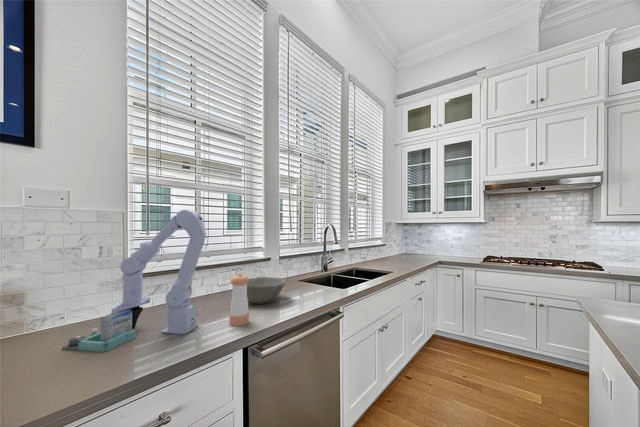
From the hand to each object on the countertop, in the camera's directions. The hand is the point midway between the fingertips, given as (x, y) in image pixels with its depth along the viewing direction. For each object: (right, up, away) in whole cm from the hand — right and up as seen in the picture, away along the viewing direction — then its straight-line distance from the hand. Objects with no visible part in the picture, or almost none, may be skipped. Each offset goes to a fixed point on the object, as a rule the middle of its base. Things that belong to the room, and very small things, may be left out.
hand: (131, 328), depth 97 cm
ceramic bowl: (+39, -3, +38) cm, 55 cm away
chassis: (-3, -1, -9) cm, 10 cm away
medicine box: (-1, -1, -6) cm, 6 cm away
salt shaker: (+36, -2, +10) cm, 37 cm away
